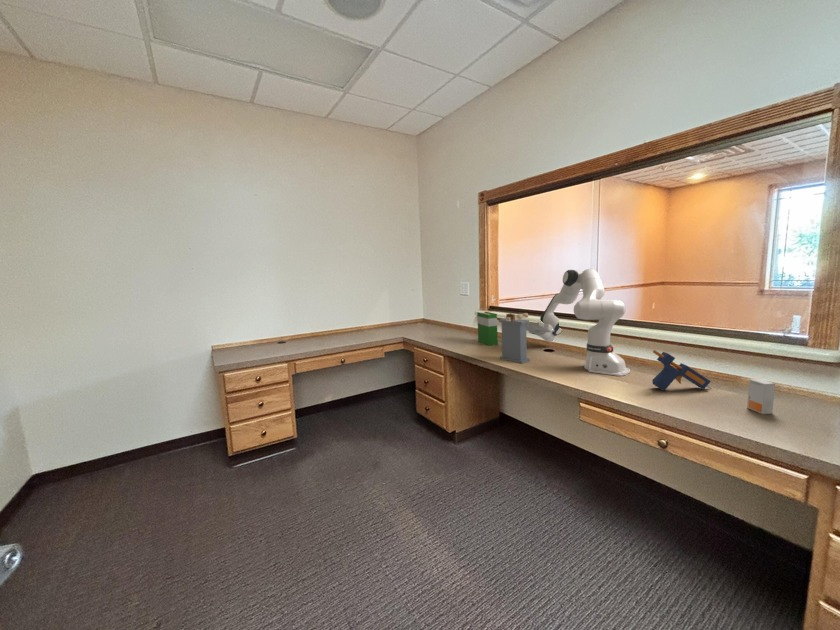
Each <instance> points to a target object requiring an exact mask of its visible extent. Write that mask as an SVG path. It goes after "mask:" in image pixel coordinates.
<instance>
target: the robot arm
mask: <svg viewBox="0 0 840 630" xmlns="http://www.w3.org/2000/svg"><path fill="white" fill-rule="evenodd" d="M562 276H563V277H562V283H563V285H562V287H561V288H560V291H559V293H556V294H555V295H554V296H553V297H552V298H551V300H550V301H549V303H548V304H547V306H546V308H545V310H544V311H543V312H542V314H541V315H540V318H539V320H541V321H542V322H543V323H544V324H542V323H541V321H540V322H529V323H526V332H527V331H528V333H529V334H532V335H535V336H538V337H539V338H541V339H542V340H543V341H546V342H548V343H552V342H551V341H553V340H554V338H555V336H557V335H560V334H561V333H562V332H561V330H562V329H561V328H560V326H559V322H558V321H559V319H560V318H558V316H556V315H555V313H554V312H555V310H556V309H557V307H558V305H559V304H561V305H570V304H573V303H574V302H575V301H576V300H577V298H578V297H579V293H580V290H582V295H583V296H582V298H581V299H580V300H578V301H577V302H576V303H575V304H574V306H573V315H575V317H576V319H579V320H580V319H581V320H585V321H590V320H593V321H594V320H595V321H596V320H597V321H598V322H597V323H596V324H594V325H593V326H591V327H589V329H587V343H586V359H585V362H584V363H585V364H584V366H583V368H584V369H585V370H587V371H588V372H589V373H595V374H602V375H610V376H616V377H617V376H618V377H620V376H621V377H623V376H626V375H629V374H630V372H631V370H630V368H628V367H626V362H625V359H624V358H623V357H621V356H620V355H619V354H617V353H616V352H615V351H614V349H615V345H613V346H612V344H611V333H612V330H613V326H614V325H615V324H616V323H617V321H619V320H620V319H621V318H623V316H624V315H625V313H626V305H625V303H624V302H623V300H619V299H611V298H610V299H609V298H607V299H602V298H603V297H604V296H605V291H606V290H605V287H604V284H603V281H602V278H601V277H600V274H599V273H598V271H597V270H596V269H593V268H587V269H584V270H577V269H576V270H574V269H567V270H565V272H564V273H563V275H562ZM560 332H561V333H560ZM557 337H558V336H557Z"/></svg>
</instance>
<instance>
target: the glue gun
mask: <svg viewBox="0 0 840 630" xmlns="http://www.w3.org/2000/svg"><path fill="white" fill-rule="evenodd" d="M652 353H653V354H654V355H656V356H658V357H657V359H656V360H657V361H658V362H660V363H661V364H662V365H663V368H662V370H661V371H660V372H658V373H657V375H656V376H655V377H654V378H653V379H652V381H651V382H652V385H654V386H655V387H657V389H658V388H659V390H661V391H663V392H665V391H666V390H667V389H668V387H669V386H670V385H671V384H672V383H673V381H675V380H676V382H677V383H678V384H682V378H684V379H686V380H687V381H688V382H689V383H690V382H691V383H692V384H694V385H695V386H696V387H698V388H700V389H702V390H706V389H705V388H708V389H710V390H712V387H711V386H709V384H710V383H711V380H710V379H708V378H707V377H706V376H704V375H702V374H701V373H699V372H698V371H696V370H695V369H693V368H691V367H690V366H688V365H686V364H685V363H681V362H680V364H678V363H676V362H674V361H675V359H676V357H675V356H673V355H671V354H670V353H667V352H666V351H663V352H662V353H660V352H659V351H657V350H656V349H655V350H652Z"/></svg>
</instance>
